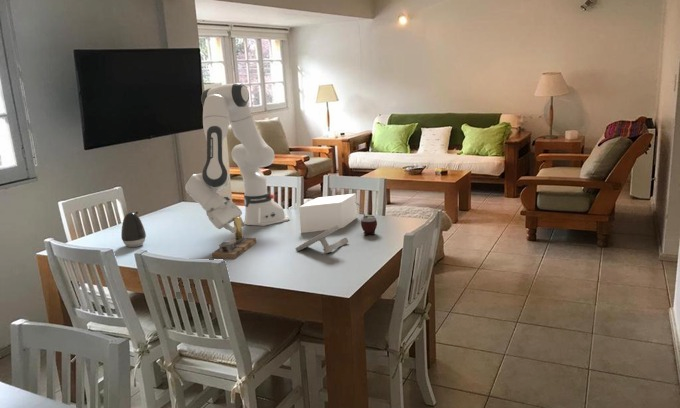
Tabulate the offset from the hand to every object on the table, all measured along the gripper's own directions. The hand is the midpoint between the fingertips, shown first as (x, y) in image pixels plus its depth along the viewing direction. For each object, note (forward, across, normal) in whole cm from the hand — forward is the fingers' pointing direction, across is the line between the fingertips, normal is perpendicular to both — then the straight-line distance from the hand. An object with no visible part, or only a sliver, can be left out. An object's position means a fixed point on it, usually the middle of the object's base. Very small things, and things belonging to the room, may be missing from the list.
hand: (239, 228), depth 241 cm
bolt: (+3, -2, +4) cm, 6 cm away
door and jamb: (+5, -6, +6) cm, 10 cm away
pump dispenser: (-30, -2, +41) cm, 51 cm away
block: (+27, +37, -15) cm, 48 cm away
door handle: (+32, +1, -20) cm, 38 cm away
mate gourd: (+42, +22, -30) cm, 56 cm away
